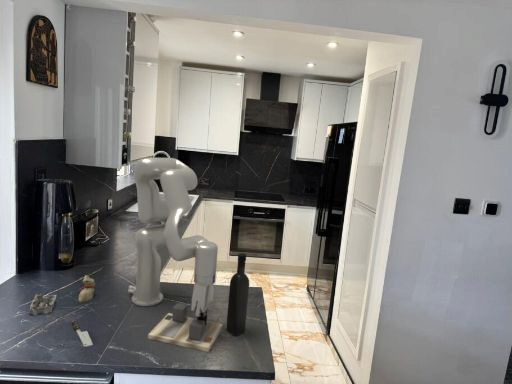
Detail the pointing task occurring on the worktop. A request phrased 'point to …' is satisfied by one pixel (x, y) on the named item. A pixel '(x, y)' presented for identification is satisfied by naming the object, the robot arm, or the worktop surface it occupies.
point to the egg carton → (42, 304)
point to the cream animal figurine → (87, 290)
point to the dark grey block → (179, 312)
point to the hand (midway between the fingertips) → (201, 325)
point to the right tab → (196, 329)
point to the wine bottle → (238, 299)
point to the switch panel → (184, 333)
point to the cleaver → (82, 335)
